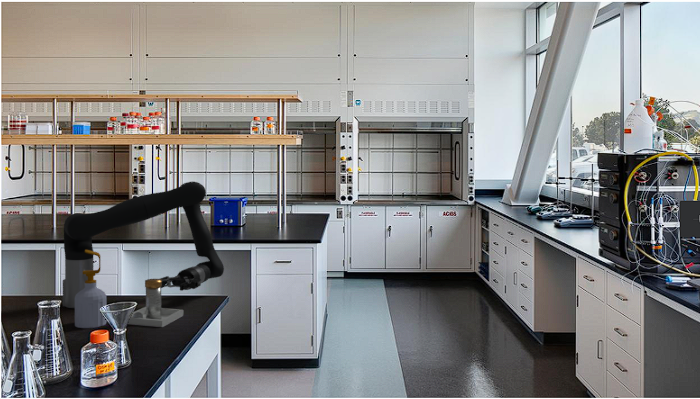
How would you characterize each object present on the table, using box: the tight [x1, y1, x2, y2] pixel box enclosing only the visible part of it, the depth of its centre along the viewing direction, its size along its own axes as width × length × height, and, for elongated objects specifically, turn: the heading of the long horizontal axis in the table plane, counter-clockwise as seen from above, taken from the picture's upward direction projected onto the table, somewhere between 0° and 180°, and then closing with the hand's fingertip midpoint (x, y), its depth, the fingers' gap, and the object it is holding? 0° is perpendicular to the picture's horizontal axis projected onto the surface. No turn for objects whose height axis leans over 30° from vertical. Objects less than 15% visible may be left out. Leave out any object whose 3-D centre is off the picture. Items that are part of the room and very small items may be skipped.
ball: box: [133, 312, 143, 318], centre depth 186 cm, size 3×3×3 cm
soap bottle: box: [74, 250, 107, 329], centre depth 181 cm, size 9×9×25 cm
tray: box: [127, 306, 184, 328], centre depth 188 cm, size 14×14×3 cm
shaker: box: [144, 278, 162, 320], centre depth 188 cm, size 5×5×13 cm
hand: (169, 286), depth 198 cm, fingers open, 8 cm apart
